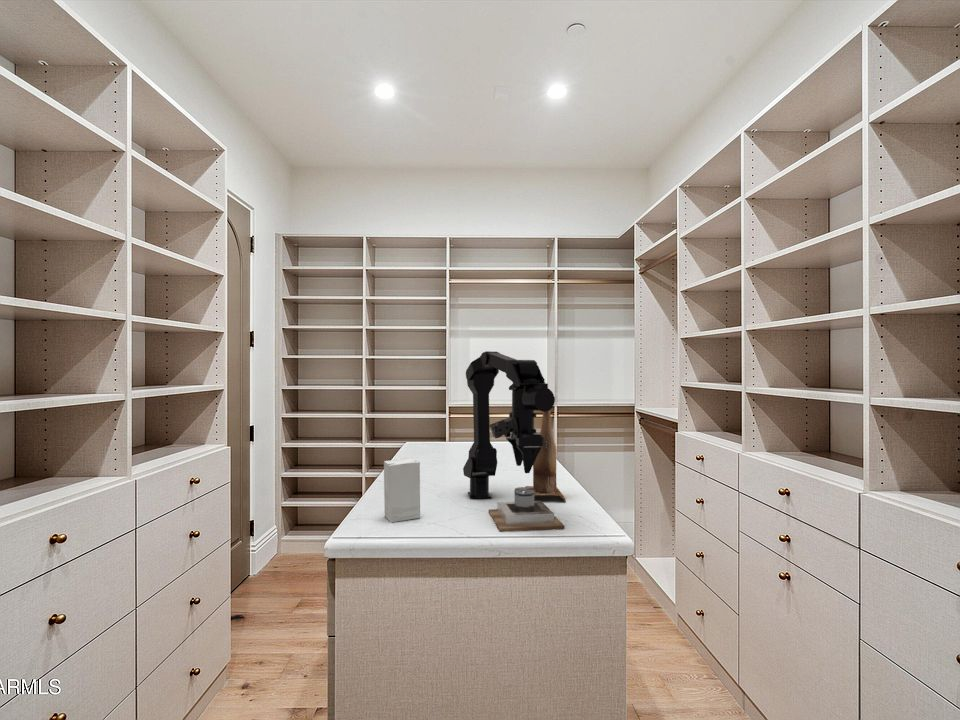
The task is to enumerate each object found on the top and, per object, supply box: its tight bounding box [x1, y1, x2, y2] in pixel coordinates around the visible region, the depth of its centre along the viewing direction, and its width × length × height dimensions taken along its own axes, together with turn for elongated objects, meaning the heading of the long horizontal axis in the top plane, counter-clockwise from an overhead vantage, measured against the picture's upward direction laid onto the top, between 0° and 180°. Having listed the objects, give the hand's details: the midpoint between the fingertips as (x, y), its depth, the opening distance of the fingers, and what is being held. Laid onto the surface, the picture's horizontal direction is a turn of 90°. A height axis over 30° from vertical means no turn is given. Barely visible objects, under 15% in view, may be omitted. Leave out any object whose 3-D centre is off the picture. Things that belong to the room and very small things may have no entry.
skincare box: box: [383, 457, 421, 524], centre depth 128 cm, size 8×6×15 cm
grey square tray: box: [496, 500, 555, 525], centre depth 127 cm, size 12×12×2 cm
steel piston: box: [513, 486, 535, 513], centre depth 127 cm, size 5×5×7 cm
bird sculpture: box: [525, 410, 567, 503], centre depth 149 cm, size 11×12×32 cm
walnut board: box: [488, 508, 566, 533], centre depth 127 cm, size 16×16×1 cm
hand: (522, 469), depth 128 cm, fingers open, 9 cm apart
